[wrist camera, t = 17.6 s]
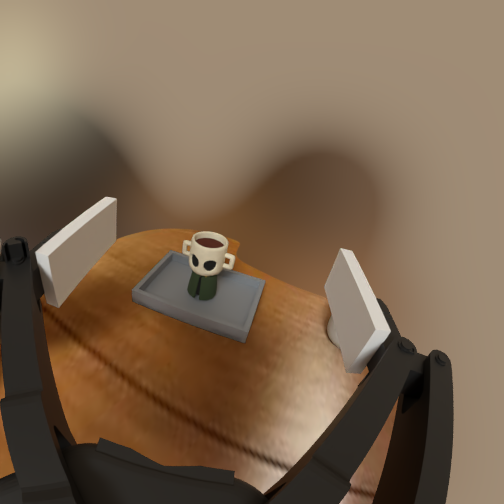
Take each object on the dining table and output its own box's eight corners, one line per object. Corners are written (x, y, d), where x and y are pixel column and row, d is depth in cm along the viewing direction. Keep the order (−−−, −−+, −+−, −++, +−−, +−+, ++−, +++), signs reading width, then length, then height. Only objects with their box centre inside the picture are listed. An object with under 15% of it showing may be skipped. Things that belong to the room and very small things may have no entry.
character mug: (171, 293, 57) (176, 238, 51) (185, 276, 63) (191, 224, 57) (220, 311, 56) (232, 256, 50) (230, 291, 62) (242, 240, 56)
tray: (132, 301, 53) (131, 289, 52) (169, 260, 69) (170, 249, 68) (244, 343, 52) (248, 332, 50) (262, 290, 67) (265, 280, 66)
